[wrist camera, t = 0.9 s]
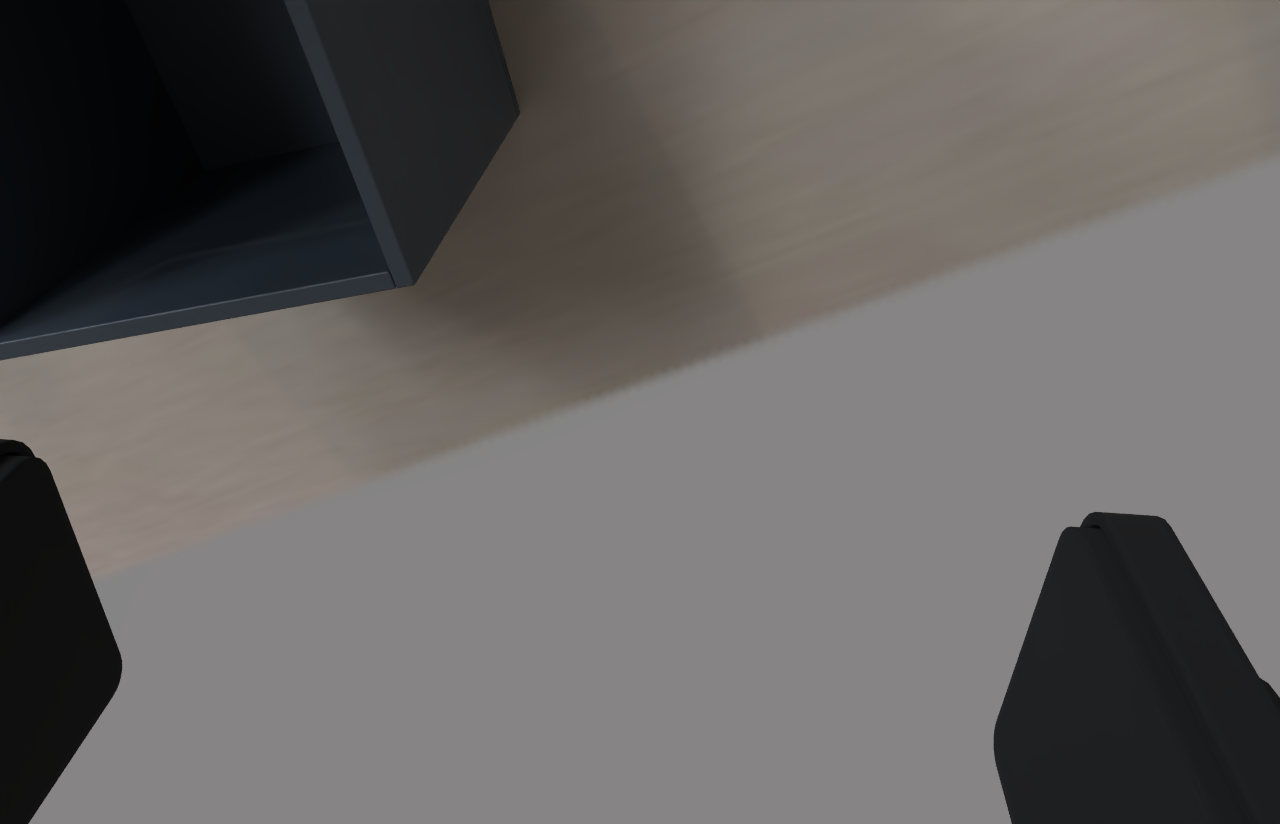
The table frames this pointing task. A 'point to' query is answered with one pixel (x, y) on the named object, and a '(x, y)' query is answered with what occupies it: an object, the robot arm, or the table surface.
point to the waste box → (231, 155)
